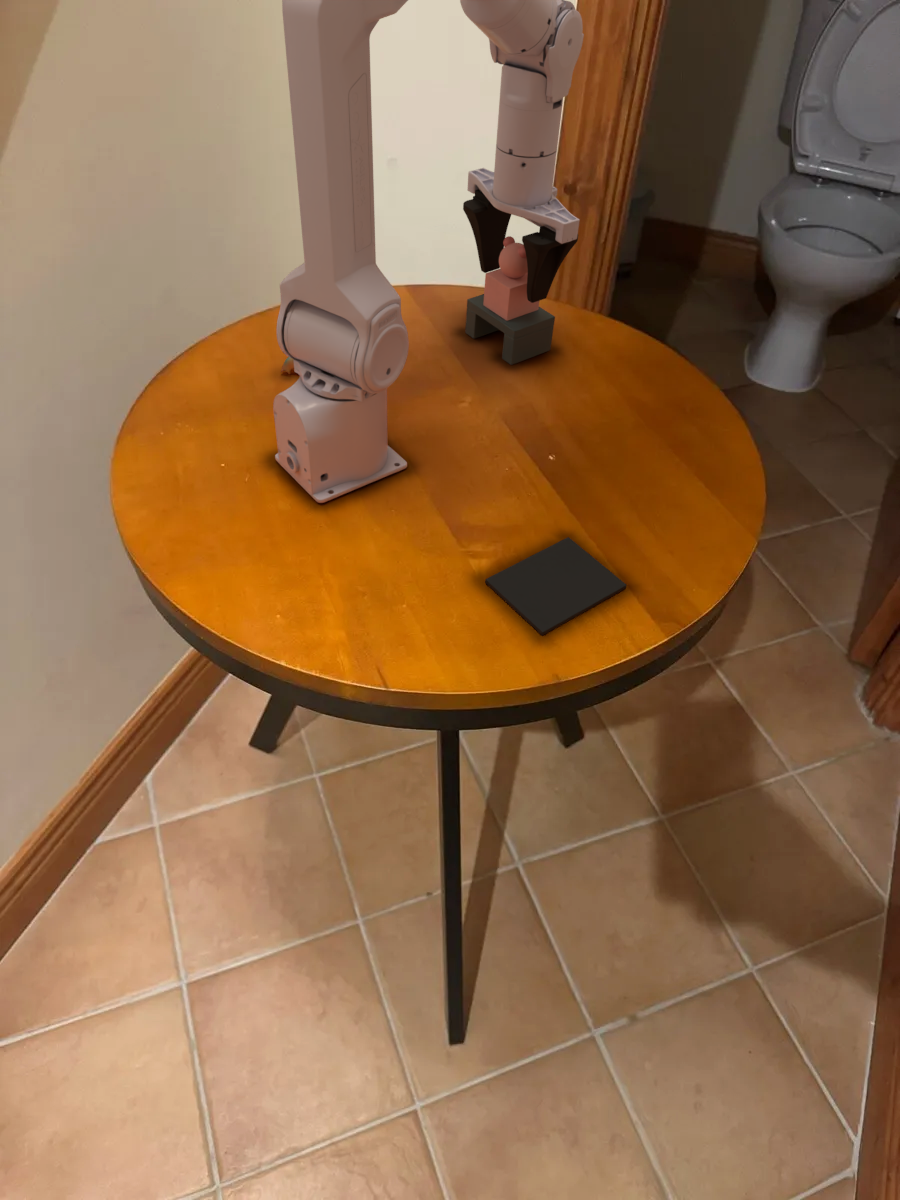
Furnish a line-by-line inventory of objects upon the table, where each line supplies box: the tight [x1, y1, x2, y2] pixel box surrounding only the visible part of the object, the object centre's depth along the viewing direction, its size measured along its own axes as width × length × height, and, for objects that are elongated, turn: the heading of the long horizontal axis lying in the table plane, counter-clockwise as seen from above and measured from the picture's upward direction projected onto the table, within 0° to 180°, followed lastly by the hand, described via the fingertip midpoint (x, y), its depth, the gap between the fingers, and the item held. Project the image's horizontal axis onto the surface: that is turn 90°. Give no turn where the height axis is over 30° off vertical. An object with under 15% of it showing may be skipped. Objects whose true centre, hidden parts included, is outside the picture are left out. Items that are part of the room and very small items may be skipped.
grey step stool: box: [464, 293, 556, 366], centre depth 98 cm, size 6×8×4 cm
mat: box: [484, 536, 628, 636], centre depth 73 cm, size 9×7×1 cm
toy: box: [483, 235, 540, 321], centre depth 94 cm, size 4×4×7 cm
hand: (513, 284), depth 94 cm, fingers open, 7 cm apart
